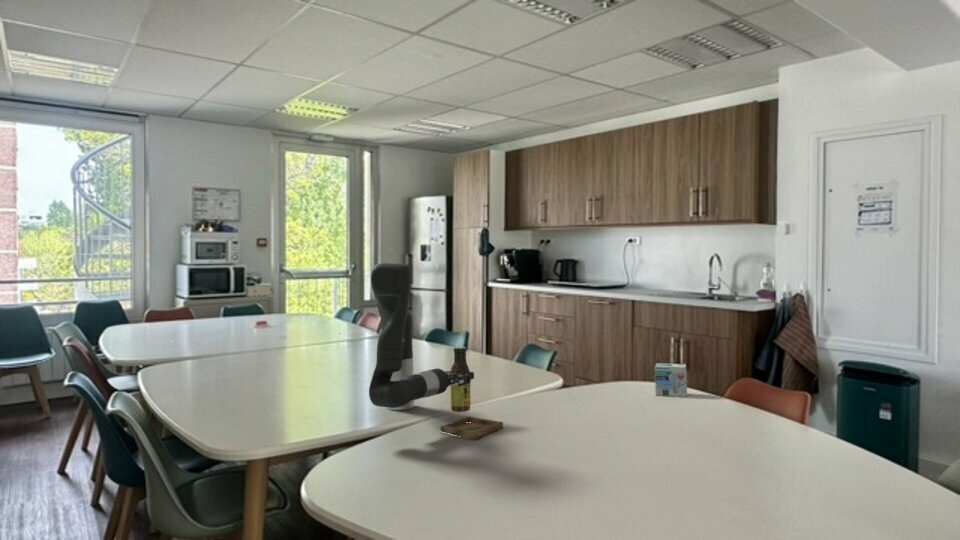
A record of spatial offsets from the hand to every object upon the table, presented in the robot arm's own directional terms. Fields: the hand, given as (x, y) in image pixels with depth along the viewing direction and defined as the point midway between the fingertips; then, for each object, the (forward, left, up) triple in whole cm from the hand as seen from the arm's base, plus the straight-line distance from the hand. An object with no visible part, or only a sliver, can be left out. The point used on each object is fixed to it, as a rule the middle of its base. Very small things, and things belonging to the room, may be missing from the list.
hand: (464, 374), depth 177 cm
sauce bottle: (0, -2, -11) cm, 12 cm away
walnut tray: (+11, -11, -14) cm, 21 cm away
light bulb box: (+44, +64, -14) cm, 79 cm away
